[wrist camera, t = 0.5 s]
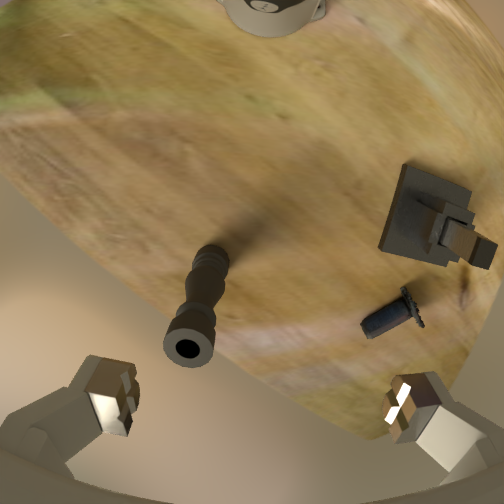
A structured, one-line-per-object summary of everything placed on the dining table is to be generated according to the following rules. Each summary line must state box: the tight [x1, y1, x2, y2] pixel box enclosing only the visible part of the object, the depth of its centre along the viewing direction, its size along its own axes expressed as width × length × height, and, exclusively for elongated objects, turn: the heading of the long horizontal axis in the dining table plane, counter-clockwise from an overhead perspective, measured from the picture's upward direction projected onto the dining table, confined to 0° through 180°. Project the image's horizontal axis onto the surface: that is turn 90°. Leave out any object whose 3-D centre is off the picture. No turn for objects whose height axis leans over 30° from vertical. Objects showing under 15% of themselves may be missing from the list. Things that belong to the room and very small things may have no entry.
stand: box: [378, 164, 475, 267], centre depth 50 cm, size 16×16×10 cm
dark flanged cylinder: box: [360, 287, 425, 339], centre depth 59 cm, size 9×8×12 cm
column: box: [439, 216, 498, 270], centre depth 44 cm, size 4×4×17 cm
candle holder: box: [163, 245, 229, 368], centre depth 46 cm, size 6×6×25 cm
